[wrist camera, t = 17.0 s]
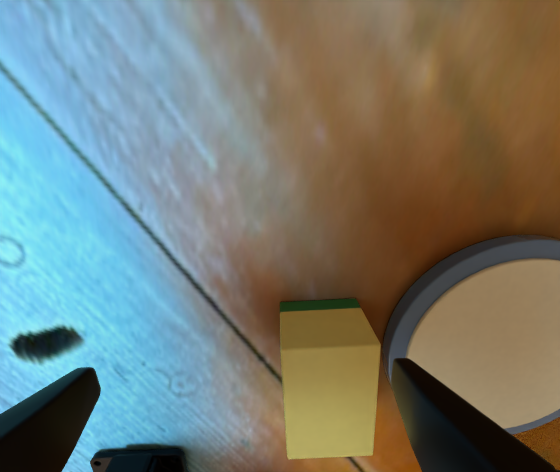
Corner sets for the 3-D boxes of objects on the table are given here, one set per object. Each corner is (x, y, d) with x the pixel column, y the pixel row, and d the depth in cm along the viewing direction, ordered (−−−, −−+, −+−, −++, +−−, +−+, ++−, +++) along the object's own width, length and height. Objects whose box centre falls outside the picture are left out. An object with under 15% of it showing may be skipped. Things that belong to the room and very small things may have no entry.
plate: (575, 419, 18) (595, 437, 17) (375, 428, 19) (382, 446, 17) (648, 227, 14) (680, 233, 13) (389, 240, 14) (399, 248, 13)
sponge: (352, 390, 17) (373, 456, 14) (285, 393, 18) (287, 460, 14) (356, 297, 15) (381, 344, 12) (279, 301, 15) (280, 349, 12)
